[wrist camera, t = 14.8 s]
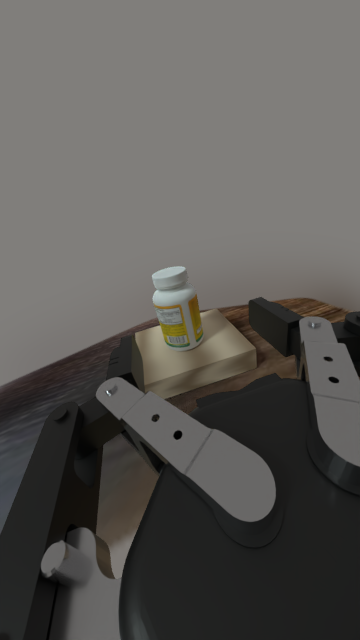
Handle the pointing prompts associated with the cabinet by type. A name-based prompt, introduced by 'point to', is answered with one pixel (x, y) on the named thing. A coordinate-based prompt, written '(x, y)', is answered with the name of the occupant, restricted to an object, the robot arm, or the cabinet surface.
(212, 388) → the cabinet surface
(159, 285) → the supplement bottle
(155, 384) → the birch base
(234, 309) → the cabinet surface
